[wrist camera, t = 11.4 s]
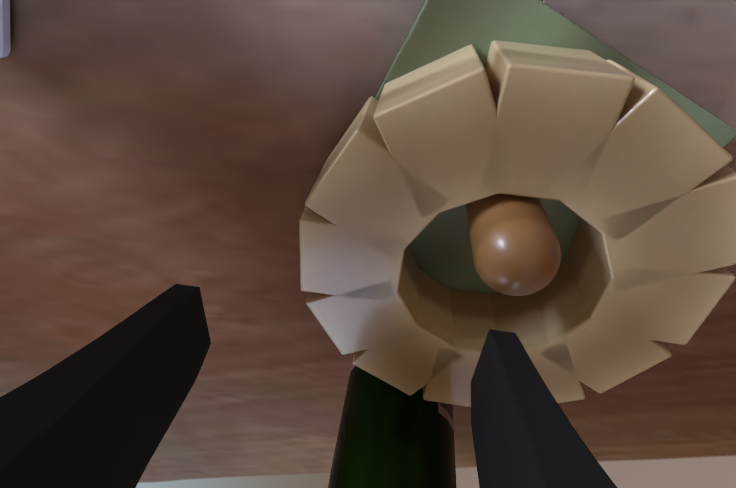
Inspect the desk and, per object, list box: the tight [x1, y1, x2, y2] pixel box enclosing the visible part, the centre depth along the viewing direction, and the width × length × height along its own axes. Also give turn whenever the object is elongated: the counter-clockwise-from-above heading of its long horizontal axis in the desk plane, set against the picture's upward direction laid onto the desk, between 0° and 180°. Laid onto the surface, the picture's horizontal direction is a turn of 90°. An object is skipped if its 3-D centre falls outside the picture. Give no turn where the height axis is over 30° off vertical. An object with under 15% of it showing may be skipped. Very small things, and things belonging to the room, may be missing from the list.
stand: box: [375, 0, 736, 296], centre depth 13 cm, size 10×10×6 cm
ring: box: [299, 40, 736, 407], centre depth 14 cm, size 13×13×3 cm
